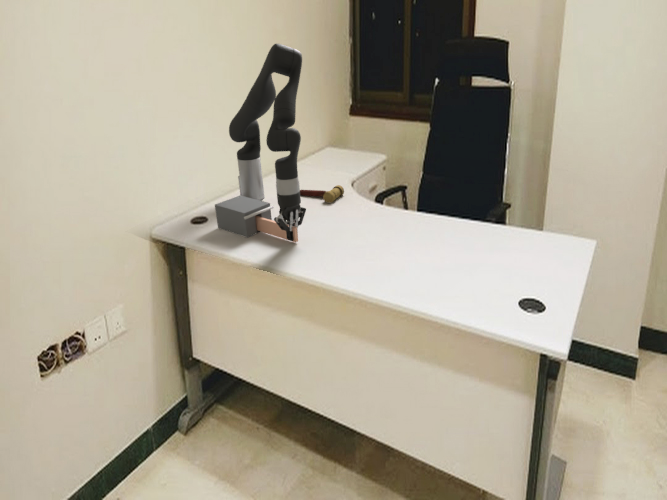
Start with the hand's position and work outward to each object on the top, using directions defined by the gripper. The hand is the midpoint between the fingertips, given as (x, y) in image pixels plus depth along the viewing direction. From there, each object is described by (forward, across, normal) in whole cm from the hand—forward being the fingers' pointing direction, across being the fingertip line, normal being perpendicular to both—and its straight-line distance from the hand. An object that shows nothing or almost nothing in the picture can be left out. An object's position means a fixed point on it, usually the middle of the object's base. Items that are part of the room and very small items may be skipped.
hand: (292, 239), depth 189 cm
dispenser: (+1, 0, -24) cm, 24 cm away
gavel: (+2, -40, -25) cm, 47 cm away
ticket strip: (0, 0, -9) cm, 10 cm away
